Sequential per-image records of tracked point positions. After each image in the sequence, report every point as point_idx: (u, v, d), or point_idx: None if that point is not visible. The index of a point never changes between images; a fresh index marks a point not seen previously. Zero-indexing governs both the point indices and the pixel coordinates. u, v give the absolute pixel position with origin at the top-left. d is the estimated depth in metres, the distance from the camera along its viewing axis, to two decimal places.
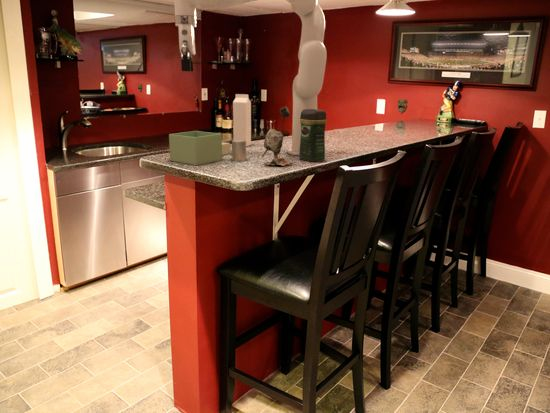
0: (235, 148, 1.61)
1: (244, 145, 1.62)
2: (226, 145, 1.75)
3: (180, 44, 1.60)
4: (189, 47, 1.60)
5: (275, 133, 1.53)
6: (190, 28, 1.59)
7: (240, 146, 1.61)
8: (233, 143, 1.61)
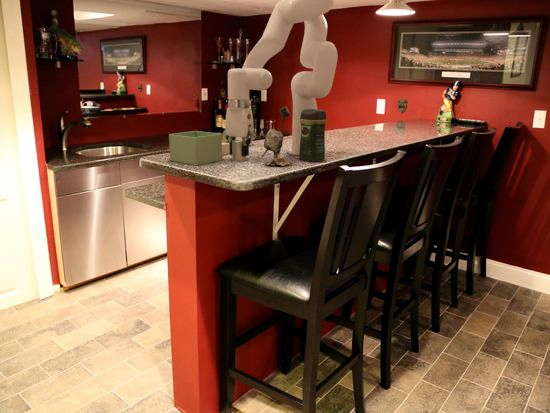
0: (235, 148, 1.61)
1: None
2: (226, 145, 1.75)
3: (246, 128, 1.57)
4: None
5: (275, 133, 1.53)
6: (251, 112, 1.59)
7: (240, 146, 1.61)
8: (233, 143, 1.61)
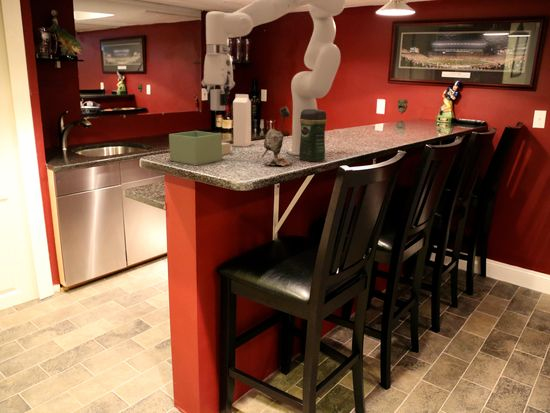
0: (214, 97, 1.55)
1: None
2: (226, 145, 1.75)
3: (225, 75, 1.51)
4: None
5: (275, 133, 1.53)
6: (230, 58, 1.53)
7: (219, 94, 1.54)
8: (211, 91, 1.55)
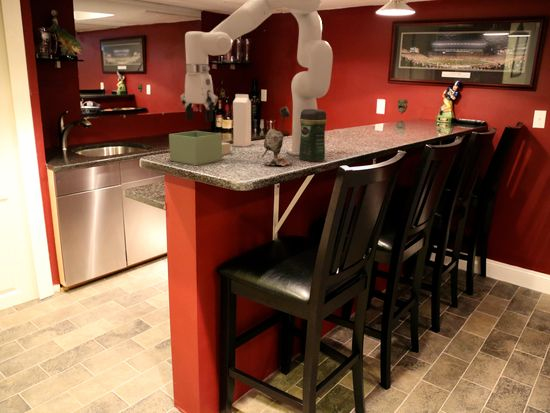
0: None
1: None
2: (226, 145, 1.75)
3: (205, 94, 1.52)
4: None
5: (275, 133, 1.53)
6: None
7: None
8: None
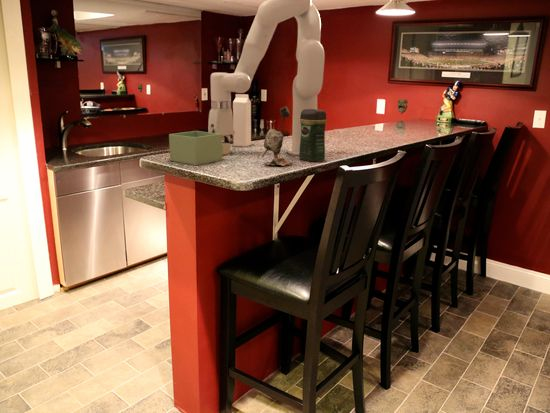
0: None
1: None
2: (226, 145, 1.75)
3: None
4: None
5: (275, 133, 1.53)
6: None
7: None
8: None
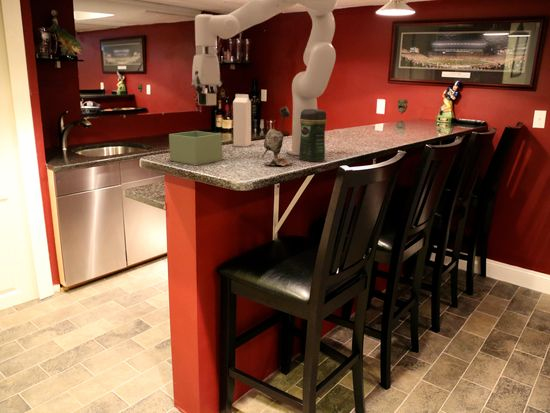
0: None
1: None
2: (211, 95, 1.62)
3: None
4: None
5: (275, 133, 1.53)
6: None
7: None
8: None
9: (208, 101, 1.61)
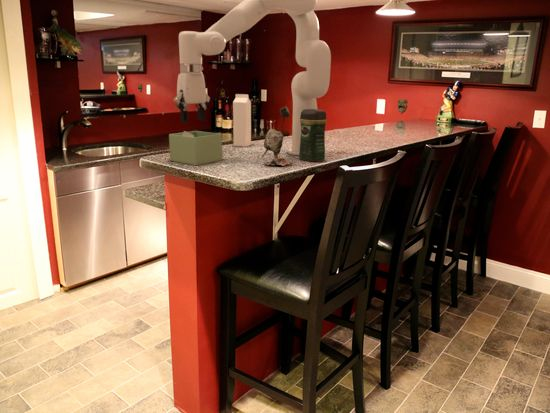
0: None
1: None
2: None
3: None
4: None
5: (275, 133, 1.53)
6: None
7: None
8: None
9: None
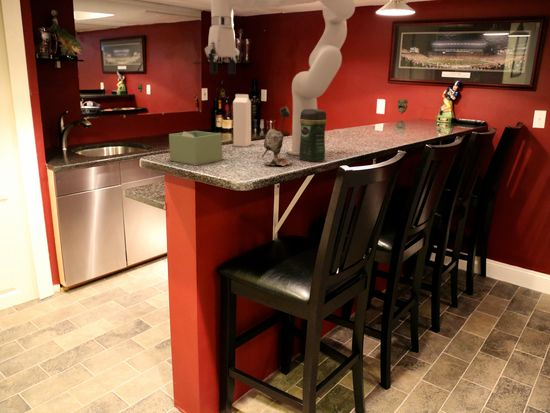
0: None
1: None
2: None
3: None
4: None
5: (275, 133, 1.53)
6: None
7: None
8: None
9: None
